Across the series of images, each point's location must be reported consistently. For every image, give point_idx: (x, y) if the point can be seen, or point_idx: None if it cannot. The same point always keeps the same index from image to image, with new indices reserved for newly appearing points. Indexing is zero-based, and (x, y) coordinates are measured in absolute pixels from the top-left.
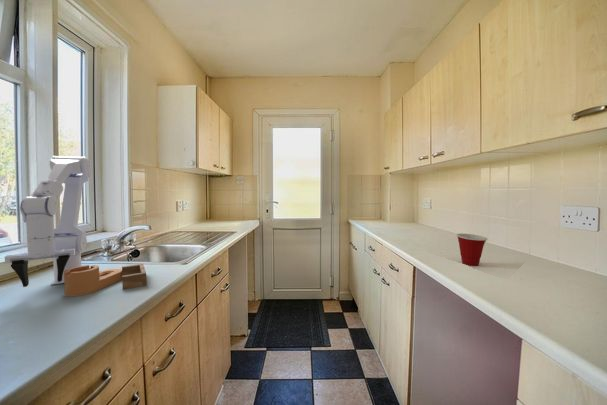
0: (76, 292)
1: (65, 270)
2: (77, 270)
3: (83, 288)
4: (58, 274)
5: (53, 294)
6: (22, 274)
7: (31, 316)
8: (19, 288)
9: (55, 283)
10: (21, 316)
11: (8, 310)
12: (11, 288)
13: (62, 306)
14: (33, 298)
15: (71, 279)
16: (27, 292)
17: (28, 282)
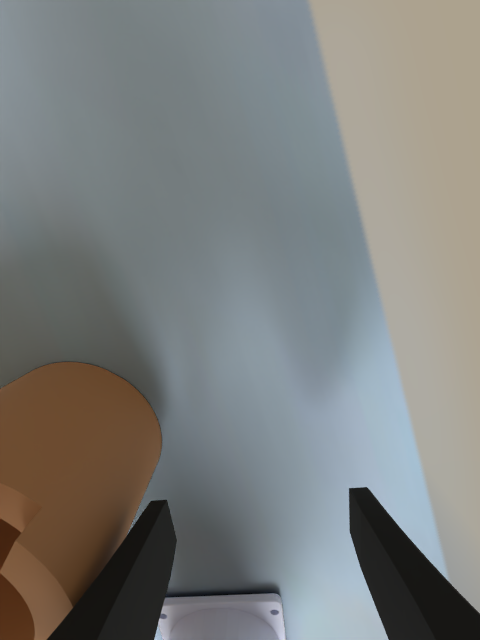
0: (68, 372)
1: None
2: (33, 627)
3: (15, 383)
4: (128, 565)
5: (219, 450)
6: (443, 622)
7: (201, 84)
8: None
9: (260, 599)
10: (261, 121)
11: (365, 287)
12: None
13: (86, 198)
14: (298, 433)
15: (16, 443)
16: None
17: (356, 549)
